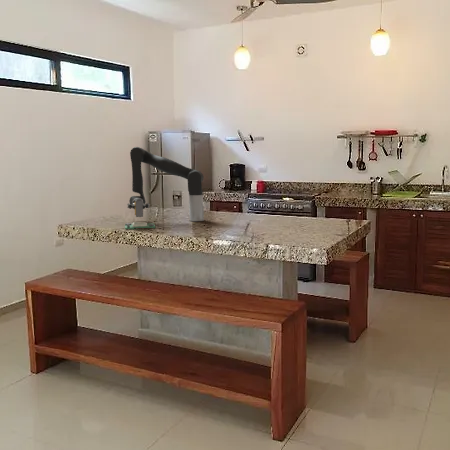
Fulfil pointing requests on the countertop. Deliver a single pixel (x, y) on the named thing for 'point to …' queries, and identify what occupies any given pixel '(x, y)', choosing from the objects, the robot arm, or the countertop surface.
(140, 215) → the plug
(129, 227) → the mount board
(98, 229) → the countertop surface
